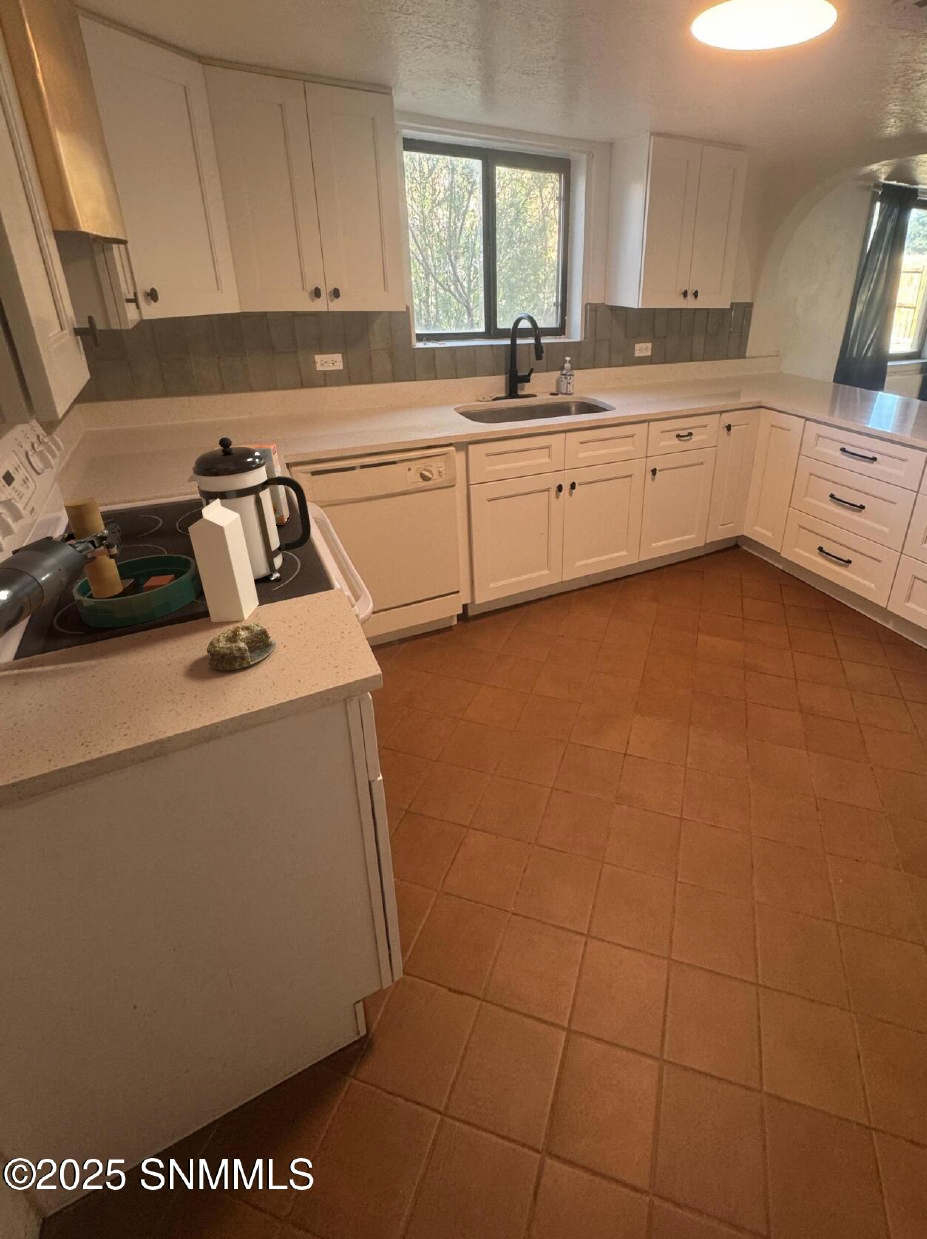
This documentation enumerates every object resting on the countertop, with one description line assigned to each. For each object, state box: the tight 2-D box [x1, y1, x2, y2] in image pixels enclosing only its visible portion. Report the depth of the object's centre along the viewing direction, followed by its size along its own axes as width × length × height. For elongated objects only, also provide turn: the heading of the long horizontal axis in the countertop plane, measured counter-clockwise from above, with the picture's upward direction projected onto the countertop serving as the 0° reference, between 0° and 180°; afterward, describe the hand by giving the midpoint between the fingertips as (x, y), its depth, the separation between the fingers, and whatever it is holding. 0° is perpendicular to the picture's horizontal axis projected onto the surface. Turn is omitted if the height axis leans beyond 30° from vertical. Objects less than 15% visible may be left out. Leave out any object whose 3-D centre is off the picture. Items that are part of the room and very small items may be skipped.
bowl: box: [72, 553, 202, 629], centre depth 111 cm, size 19×19×6 cm
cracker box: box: [213, 442, 290, 523], centre depth 146 cm, size 14×6×21 cm, turn 102°
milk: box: [187, 499, 260, 623], centre depth 103 cm, size 6×6×22 cm
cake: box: [206, 622, 276, 672], centre depth 94 cm, size 10×10×5 cm
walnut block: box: [104, 579, 139, 599], centre depth 110 cm, size 4×4×4 cm
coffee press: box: [187, 436, 312, 584], centre depth 118 cm, size 17×16×30 cm
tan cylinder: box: [63, 496, 123, 598], centre depth 93 cm, size 4×4×16 cm
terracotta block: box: [143, 575, 176, 592], centre depth 112 cm, size 4×4×4 cm
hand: (100, 530), depth 95 cm, fingers closed on tan cylinder, 4 cm apart
